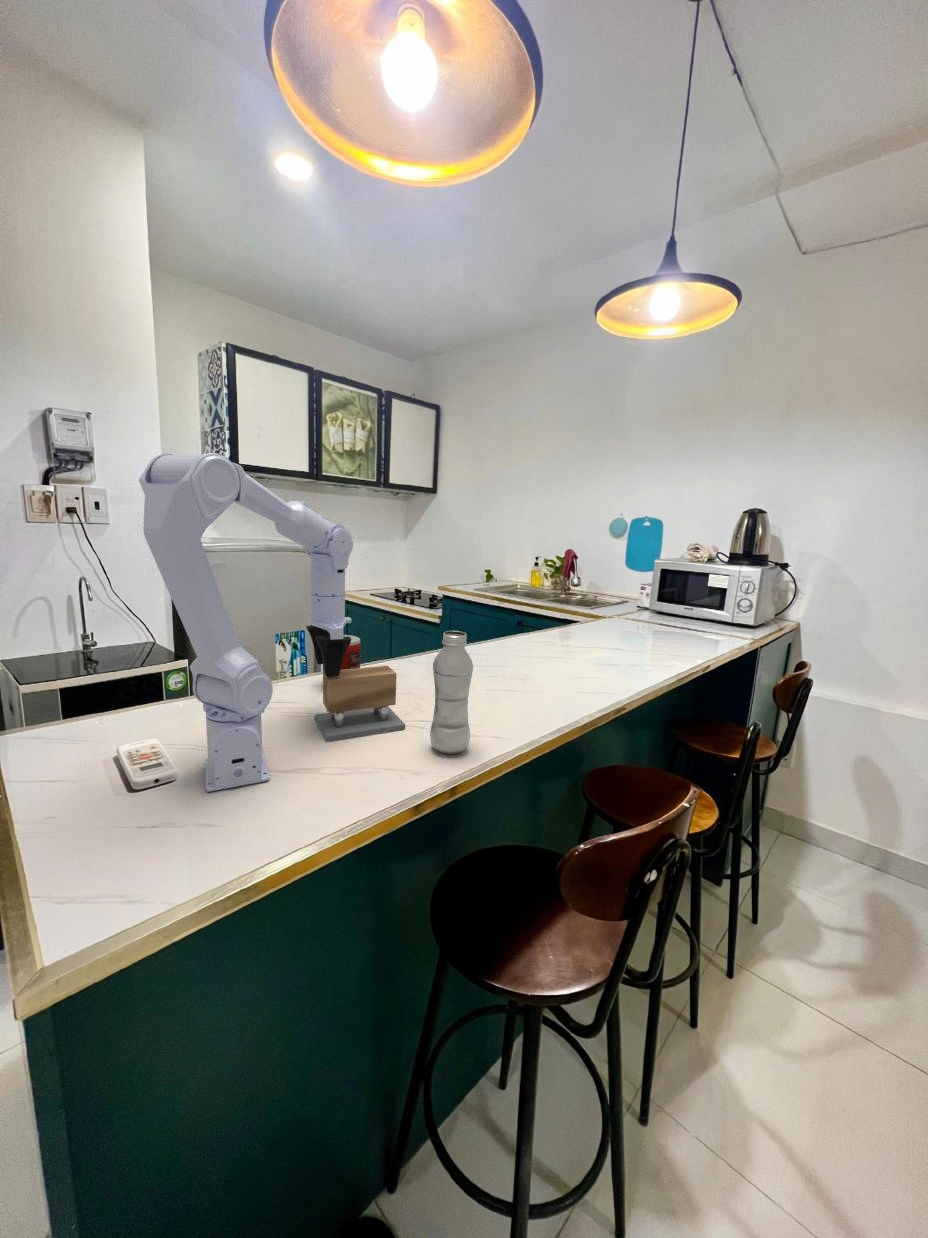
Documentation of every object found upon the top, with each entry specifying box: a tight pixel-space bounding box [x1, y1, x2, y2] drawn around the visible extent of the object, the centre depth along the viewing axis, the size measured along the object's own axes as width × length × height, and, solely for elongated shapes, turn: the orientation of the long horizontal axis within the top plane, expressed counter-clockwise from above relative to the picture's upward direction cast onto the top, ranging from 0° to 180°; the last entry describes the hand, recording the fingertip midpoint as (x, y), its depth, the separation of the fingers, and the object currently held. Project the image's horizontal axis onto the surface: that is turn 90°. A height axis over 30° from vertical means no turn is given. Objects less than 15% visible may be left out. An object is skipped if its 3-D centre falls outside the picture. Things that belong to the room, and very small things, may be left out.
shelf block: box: [322, 665, 397, 713], centre depth 88 cm, size 5×12×6 cm, turn 118°
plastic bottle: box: [429, 630, 474, 755], centre depth 80 cm, size 6×7×20 cm
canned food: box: [322, 634, 361, 672], centre depth 107 cm, size 8×8×11 cm
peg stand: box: [314, 706, 406, 743], centre depth 89 cm, size 10×14×4 cm
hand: (327, 669), depth 87 cm, fingers open, 7 cm apart
